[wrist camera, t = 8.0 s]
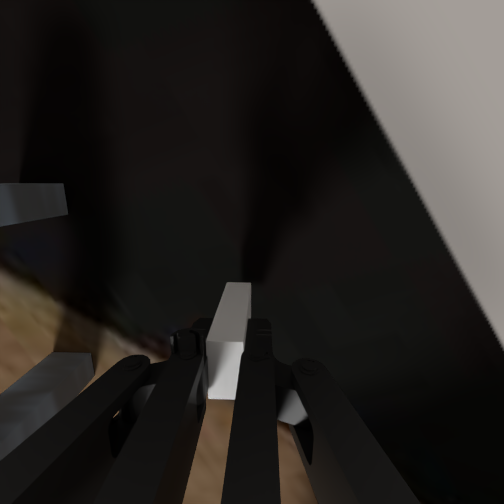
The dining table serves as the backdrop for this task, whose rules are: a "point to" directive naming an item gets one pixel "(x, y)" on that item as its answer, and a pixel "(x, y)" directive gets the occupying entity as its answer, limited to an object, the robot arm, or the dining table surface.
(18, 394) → the bridge
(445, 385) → the dining table surface
